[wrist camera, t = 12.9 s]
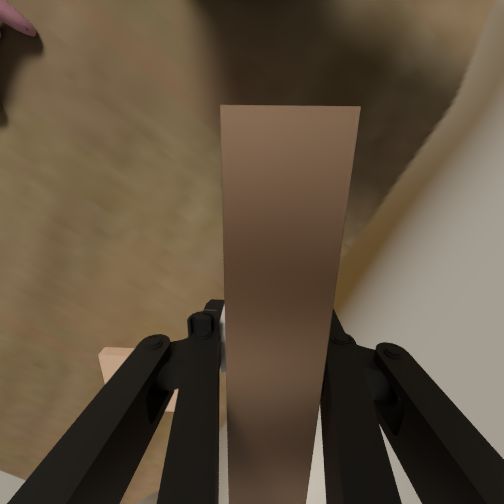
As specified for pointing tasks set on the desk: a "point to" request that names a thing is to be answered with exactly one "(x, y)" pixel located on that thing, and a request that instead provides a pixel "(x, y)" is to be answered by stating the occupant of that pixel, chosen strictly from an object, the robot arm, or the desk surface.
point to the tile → (114, 359)
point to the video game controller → (15, 20)
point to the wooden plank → (280, 285)
